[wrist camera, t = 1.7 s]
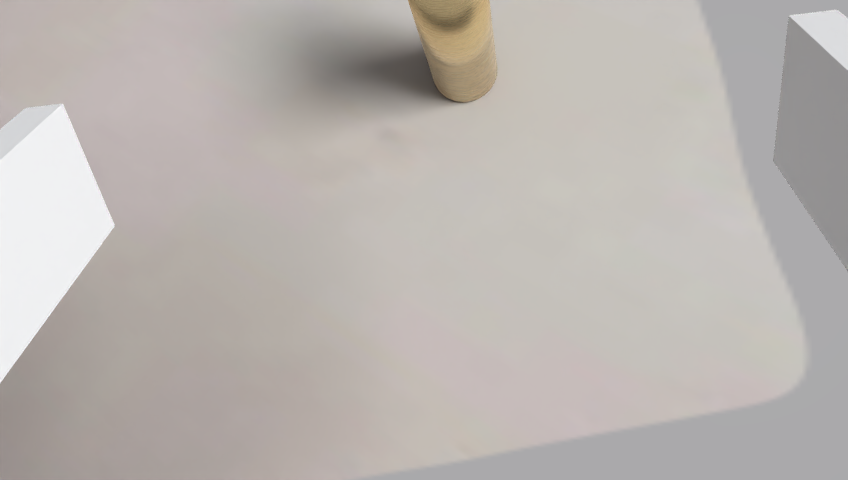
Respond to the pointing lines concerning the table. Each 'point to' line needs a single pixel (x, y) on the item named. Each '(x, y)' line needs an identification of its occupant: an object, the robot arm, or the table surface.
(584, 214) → the table surface
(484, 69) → the pin
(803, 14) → the robot arm
